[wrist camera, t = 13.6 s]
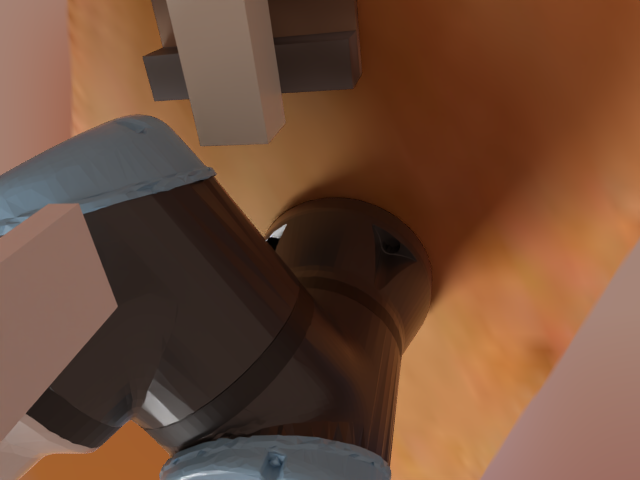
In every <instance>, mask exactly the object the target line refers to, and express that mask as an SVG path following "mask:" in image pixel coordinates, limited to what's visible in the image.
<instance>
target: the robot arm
mask: <svg viewBox="0 0 640 480" xmlns="http://www.w3.org/2000/svg"><path fill="white" fill-rule="evenodd" d="M215 175H217V174H216V172H215V171H214V170H213V168H211V167H207V166H205V165H204V164H203V163H202V161H201V160H200V159H199V158H198V157H197V156H196V155H195V154H194V153H193V152H192V150H191V149H190V148H189V147H188V146H187V145H186V144H185V143H184V142H183V141H182V140H181V138H180V137H179V136H178V135H177V134H176V133H175V132H174V131H173V130H172V129H171V128H170V127H169V126H168V125H167V124H166V123H164V122H163V121H161V120H159V119H157V118H155V117H152V116H147V115H129V116H124V117H120V118H117V119H114V120H111V121H108V122H106V123H104V124H101V125H99V126H96V127H94V128H92V129H90V130H87V131H85V132H83V133H81V134H78V135H76V136H74V137H72V138H70V139H68V140H66V141H64V142H62V143H60V144H58V145H56V146H54V147H52V148H50V149H48V150H46V151H44V152H42V153H41V154H39V155H37V156H35V157H33V158H31V159H29V160H27V161H25V162H24V163H22V164H20V165H18V166H16V167H15V168H13V169H11V170H9V171H7V172H6V173H4V174H2V175H0V480H19V479H20V478H21V477H22V476H23V475H24V474H25V473H26V472H27V471H28V470H30V469H31V468H32V467H33V466H34V465H35V464H36V463H37V462H38V461H39V460H40V459H41V458H43V457H44V456H46V455H50V454H54V453H90V452H94V451H95V450H96V449H98V448H99V447H100V446H101V445H103V443H105V442H106V441H107V440H108V439H109V438H110V437H111V436H112V435H113V434H114V433H115V432H116V431H117V430H118V429H119V428H121V427H122V426H123V425H124V424H125V423H126V422H128V421H129V420H132V421H134V422H135V423H137V424H138V425H139V426H141V427H142V428H143V429H144V430H145V431H146V432H147V433H148V434H149V435H150V436H152V437H153V438H154V439H155V440H156V441H157V443H158V444H160V445H161V446H162V447H163V448H164V449H165V450H166V451H167V452H168V453H169V455H170V459H168V460H167V462H166V463H165V464H164V465H163V467H162V469H161V472H160V480H391V470H390V460H391V451H392V441H393V431H394V422H395V412H396V403H397V393H398V384H399V375H400V366H401V357H402V355H403V353H404V352H405V350H406V349H407V347H408V346H409V344H410V343H411V341H412V340H413V338H414V337H415V335H416V334H417V332H418V331H419V329H420V328H421V326H422V324H423V322H424V320H425V318H426V316H427V313H428V310H429V306H430V301H431V289H432V272H431V266H430V262H429V259H428V256H427V254H426V251H425V249H424V248H423V246H422V244H421V242H420V241H419V239H418V238H417V237H416V235H415V234H414V233H413V232H412V231H411V230H410V229H409V228H408V227H407V226H406V225H405V224H404V223H403V222H402V221H401V220H399V219H398V218H397V217H395V216H394V215H392V214H390V213H389V212H387V211H385V210H383V209H381V208H379V207H377V206H375V205H372V204H369V203H366V202H363V201H359V200H354V199H348V198H322V199H316V200H312V201H308V202H305V203H302V204H300V205H297V206H295V207H293V208H291V209H290V210H288V211H287V212H285V213H284V214H282V215H281V216H280V217H279V218H278V219H277V220H276V221H275V222H274V223H273V224H272V225H271V227H270V228H269V229H268V231H267V233H266V234H265V236H264V238H263V236H262V235H261V234H260V233H259V231H258V230H257V229H256V228H255V226H254V225H253V224H252V223H251V221H250V220H249V219H248V218H247V217H246V215H245V214H244V213H243V212H242V210H241V209H240V208H239V207H238V205H237V204H236V203H235V202H234V201H233V199H232V198H231V197H230V196H229V194H228V193H227V192H226V191H225V189H224V188H223V187H222V186H221V185H220V183H219V182H218V181H217V180H216V178H215V177H214V176H215Z"/></svg>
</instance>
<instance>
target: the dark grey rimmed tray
mask: <svg viewBox="0 0 640 480" xmlns="http://www.w3.org/2000/svg"><path fill="white" fill-rule="evenodd" d="M151 2H152V6H153V10H154V13H155V17H156V21H157V25H158V29H159V33H160V37H161V41H162V45H163V48H161V49H159V50H156V51H154V52H152V53H150V54H147V55H145V56H143V60H144V64H145V68H146V71H147V75H148V79H149V82H150V86H151V90H152V93H153V97H154V101H166V100H182V99H189V95H188V91H187V86H186V82H185V78H184V74H183V70H182V65H181V61H180V57H179V53H178V48H177V44H176V40H175V36H174V31H173V27H172V23H171V19H170V15H169V10H168V6H167V2H166V0H151ZM268 7H269V14H270V20H271V27H272V34H273V40H274V47H275V54H276V60H277V67H278V74H279V80H280V87H281V93H294V92H310V91H326V90H342V89H353V88H354V86H355V85H356V83H357V81H358V79H359V78H360V76H361V74H362V65H361V52H360V38H359V25H358V12H357V0H268Z"/></svg>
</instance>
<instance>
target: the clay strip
mask: <svg viewBox="0 0 640 480" xmlns="http://www.w3.org/2000/svg"><path fill="white" fill-rule="evenodd" d="M166 2H167V6H168V10H169V15H170V19H171V23H172V27H173V31H174V36H175V40H176V44H177V48H178V53H179V57H180V61H181V65H182V70H183V74H184V78H185V82H186V86H187V91H188V95H189V99H190V103H191V108H192V112H193V116H194V120H195V125H196V129H197V133H198V137H199V141H200V146H221V145H249V144H269V142H270V141H271V140H272V139H273V138H274V136H275V135H276V134H277V133H278V132H279V130H280V129H281V128H282V127H283V125H284V124H285V123H286V121H285V114H284V107H283V101H282V94H281V87H280V80H279V74H278V67H277V60H276V54H275V47H274V40H273V34H272V27H271V20H270V14H269V7H268V0H166Z"/></svg>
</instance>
